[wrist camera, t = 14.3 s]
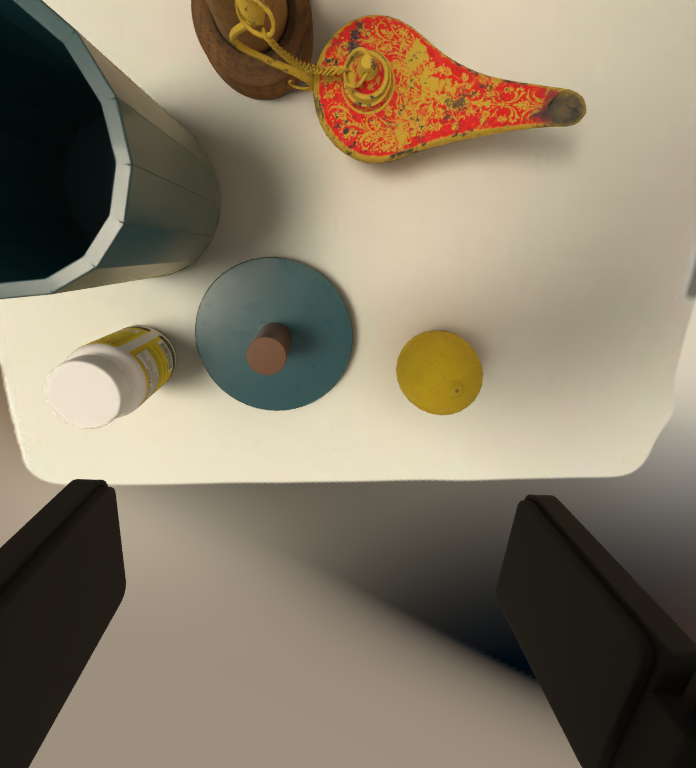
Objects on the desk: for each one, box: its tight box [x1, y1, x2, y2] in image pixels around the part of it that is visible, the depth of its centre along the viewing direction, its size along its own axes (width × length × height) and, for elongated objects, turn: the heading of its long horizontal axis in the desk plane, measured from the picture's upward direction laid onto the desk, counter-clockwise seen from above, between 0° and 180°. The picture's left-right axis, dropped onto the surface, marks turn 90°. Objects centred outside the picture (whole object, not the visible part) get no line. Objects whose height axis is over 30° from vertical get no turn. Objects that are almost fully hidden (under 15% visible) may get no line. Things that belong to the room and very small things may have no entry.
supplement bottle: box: [44, 326, 176, 429], centre depth 26 cm, size 5×5×8 cm
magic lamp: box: [229, 0, 586, 163], centre depth 21 cm, size 7×18×11 cm, turn 82°
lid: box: [195, 257, 352, 411], centre depth 27 cm, size 11×11×6 cm
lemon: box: [396, 330, 483, 415], centre depth 27 cm, size 6×6×8 cm
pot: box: [0, 0, 220, 299], centre depth 20 cm, size 10×10×14 cm
